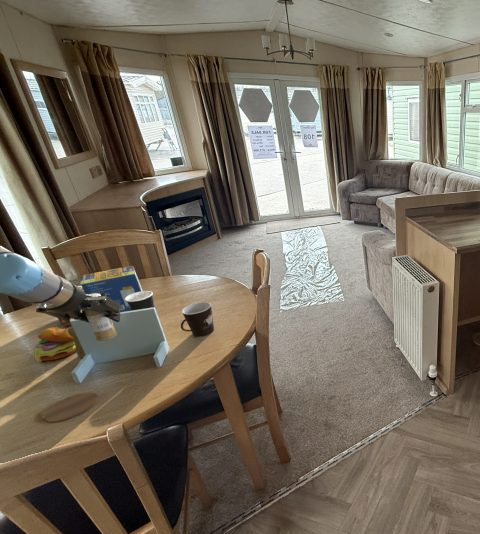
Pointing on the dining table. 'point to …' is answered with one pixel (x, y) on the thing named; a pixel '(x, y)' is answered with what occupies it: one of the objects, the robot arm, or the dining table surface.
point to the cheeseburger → (54, 344)
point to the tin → (65, 322)
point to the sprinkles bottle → (100, 324)
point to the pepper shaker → (77, 343)
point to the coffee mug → (198, 318)
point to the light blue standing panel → (121, 341)
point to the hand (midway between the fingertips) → (107, 319)
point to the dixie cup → (140, 300)
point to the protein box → (113, 285)
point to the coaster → (70, 407)
